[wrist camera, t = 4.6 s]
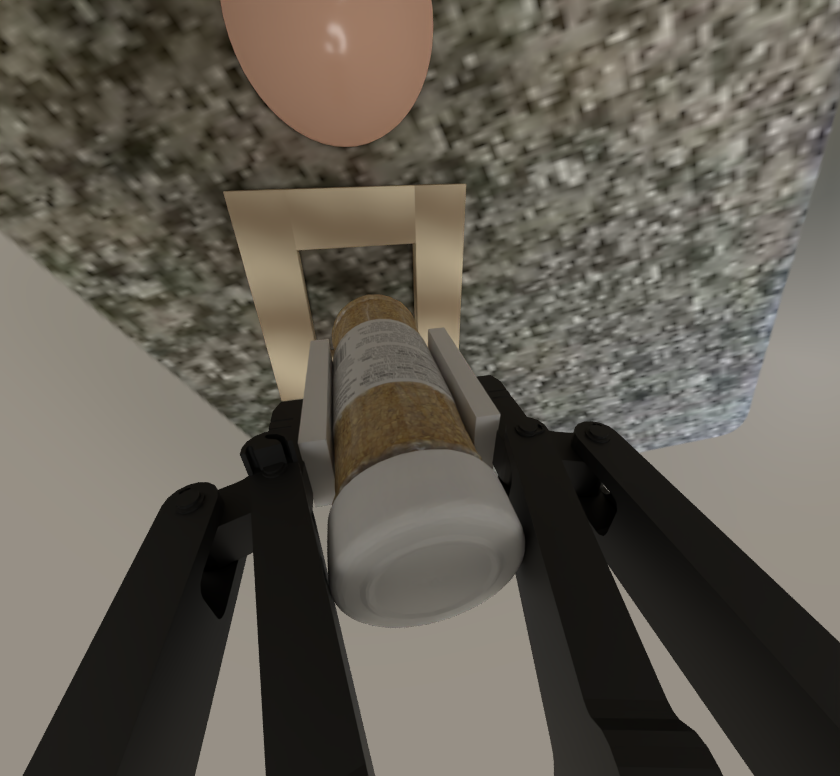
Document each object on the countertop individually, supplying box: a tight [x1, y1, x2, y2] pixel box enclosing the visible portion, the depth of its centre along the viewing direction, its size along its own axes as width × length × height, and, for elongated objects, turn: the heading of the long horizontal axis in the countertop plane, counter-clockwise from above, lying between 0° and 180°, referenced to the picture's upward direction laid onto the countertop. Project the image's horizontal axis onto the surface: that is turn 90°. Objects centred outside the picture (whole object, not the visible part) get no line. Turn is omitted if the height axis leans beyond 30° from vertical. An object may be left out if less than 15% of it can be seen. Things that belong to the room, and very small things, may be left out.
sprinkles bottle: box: [327, 294, 525, 628], centre depth 13 cm, size 5×5×13 cm
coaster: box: [220, 0, 433, 147], centre depth 17 cm, size 10×10×1 cm
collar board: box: [223, 183, 466, 401], centre depth 25 cm, size 14×14×1 cm
